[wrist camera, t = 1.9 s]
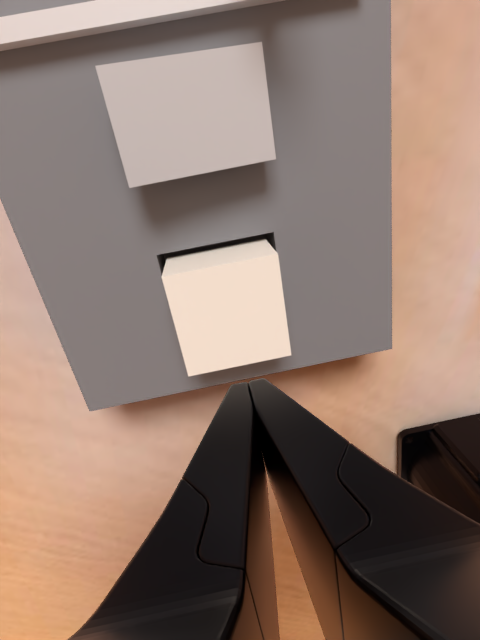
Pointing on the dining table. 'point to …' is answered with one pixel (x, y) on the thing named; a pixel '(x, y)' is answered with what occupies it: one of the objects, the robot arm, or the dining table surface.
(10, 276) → the dining table surface
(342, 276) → the console
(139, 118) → the pale grey slab
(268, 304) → the push button
